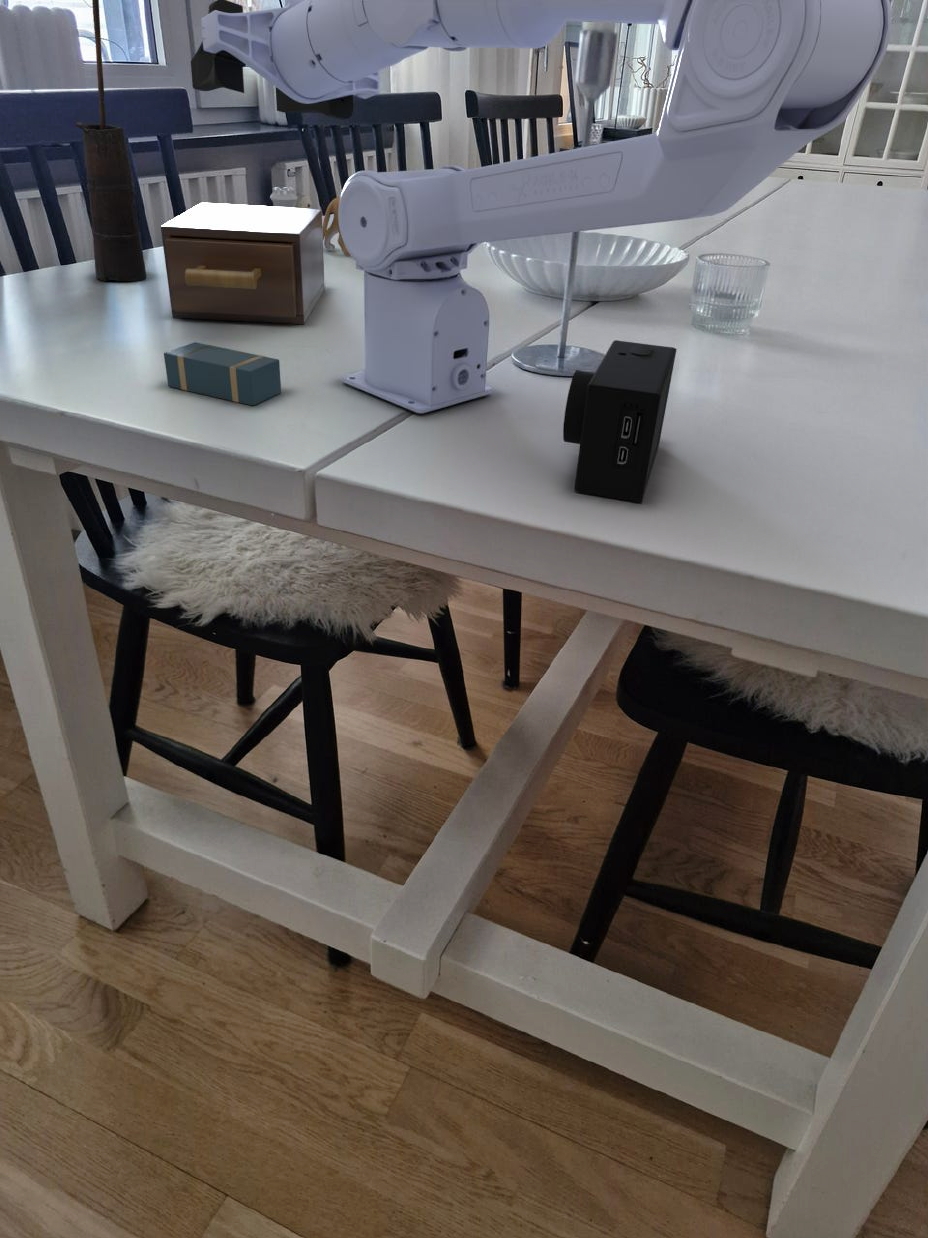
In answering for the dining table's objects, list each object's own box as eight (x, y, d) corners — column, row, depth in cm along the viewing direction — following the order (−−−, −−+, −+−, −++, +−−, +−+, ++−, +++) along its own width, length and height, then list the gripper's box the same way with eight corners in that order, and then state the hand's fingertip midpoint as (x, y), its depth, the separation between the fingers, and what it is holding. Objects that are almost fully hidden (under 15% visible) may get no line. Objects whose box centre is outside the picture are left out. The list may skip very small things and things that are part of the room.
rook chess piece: (298, 265, 105) (294, 192, 101) (263, 261, 106) (258, 189, 101) (310, 258, 109) (307, 187, 104) (277, 254, 109) (272, 184, 105)
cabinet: (304, 324, 83) (299, 233, 79) (172, 317, 83) (160, 225, 78) (324, 289, 95) (321, 209, 91) (209, 283, 95) (201, 202, 91)
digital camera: (583, 433, 63) (596, 335, 59) (659, 444, 62) (677, 345, 58) (555, 489, 54) (567, 379, 50) (641, 504, 53) (661, 392, 49)
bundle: (282, 392, 67) (279, 358, 65) (253, 406, 64) (250, 371, 62) (198, 374, 69) (194, 341, 68) (167, 386, 66) (162, 352, 65)
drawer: (287, 329, 78) (283, 255, 75) (160, 323, 78) (150, 248, 74) (315, 285, 93) (313, 221, 89) (209, 279, 93) (202, 215, 89)
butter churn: (89, 293, 89) (28, -50, 74) (55, 274, 95) (-9, -47, 79) (174, 283, 94) (133, -39, 79) (136, 266, 100) (91, -36, 85)
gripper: (415, 3, 65) (310, 55, 74) (245, -68, 55) (149, 3, 65) (417, 108, 67) (314, 146, 76) (253, 57, 57) (158, 108, 66)
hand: (239, 87), depth 70 cm, fingers open, 7 cm apart
